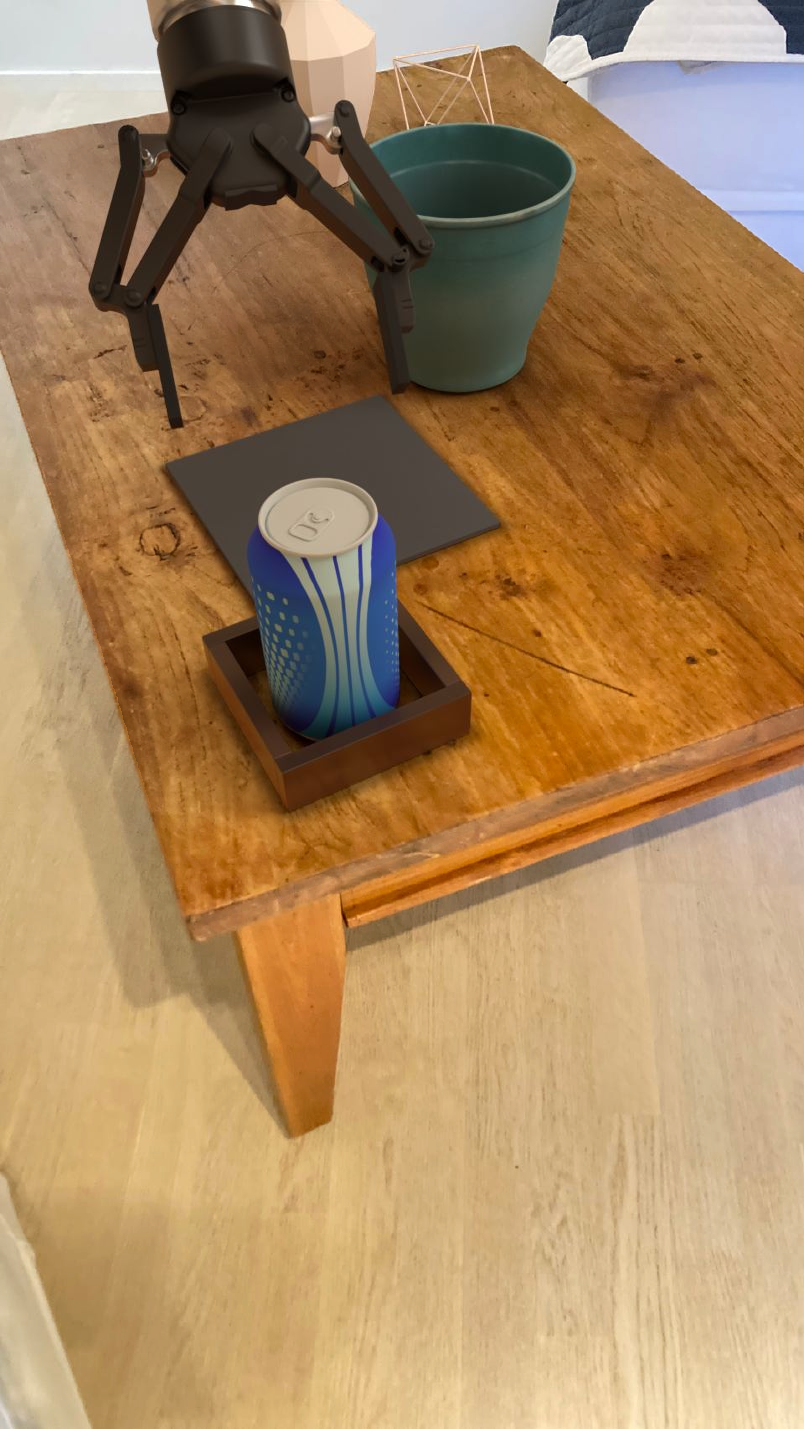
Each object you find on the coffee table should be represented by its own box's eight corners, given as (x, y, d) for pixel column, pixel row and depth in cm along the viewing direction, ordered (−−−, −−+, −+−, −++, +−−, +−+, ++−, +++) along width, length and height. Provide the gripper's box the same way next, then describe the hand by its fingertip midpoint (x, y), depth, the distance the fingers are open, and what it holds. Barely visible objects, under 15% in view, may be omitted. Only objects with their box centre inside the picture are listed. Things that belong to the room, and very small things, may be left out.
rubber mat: (165, 468, 87) (164, 463, 87) (380, 398, 93) (380, 393, 93) (263, 617, 76) (262, 612, 75) (500, 527, 81) (501, 522, 81)
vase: (235, 167, 124) (201, -94, 105) (340, 138, 129) (325, -117, 110) (294, 213, 116) (269, -61, 97) (403, 180, 121) (399, -87, 102)
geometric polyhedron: (501, 126, 130) (504, 43, 123) (493, 163, 123) (496, 77, 116) (401, 123, 132) (399, 40, 125) (387, 159, 125) (385, 74, 118)
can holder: (210, 676, 72) (200, 635, 69) (378, 611, 76) (376, 569, 73) (289, 813, 65) (282, 774, 62) (470, 733, 68) (472, 692, 65)
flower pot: (351, 416, 91) (338, 219, 78) (365, 308, 103) (356, 121, 90) (561, 418, 91) (583, 219, 78) (551, 309, 102) (569, 120, 89)
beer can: (259, 677, 72) (224, 487, 60) (376, 645, 74) (365, 454, 61) (294, 769, 67) (263, 582, 54) (418, 732, 68) (416, 543, 56)
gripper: (418, 49, 66) (477, 389, 68) (13, 94, 63) (87, 450, 65) (440, -26, 59) (506, 358, 61) (-18, 21, 56) (68, 426, 58)
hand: (290, 407), depth 63 cm, fingers open, 13 cm apart
